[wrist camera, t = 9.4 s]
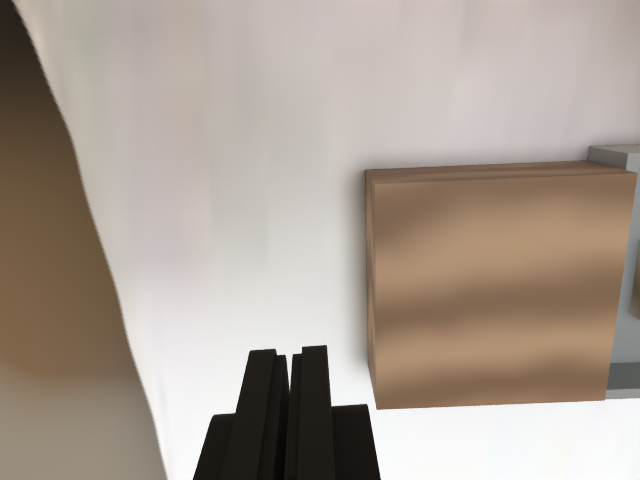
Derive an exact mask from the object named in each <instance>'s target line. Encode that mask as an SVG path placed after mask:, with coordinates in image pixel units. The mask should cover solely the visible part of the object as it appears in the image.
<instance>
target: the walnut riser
mask: <svg viewBox="0 0 640 480" xmlns="http://www.w3.org/2000/svg"><path fill="white" fill-rule="evenodd" d="M637 176H638V173H636V172H632V171H627V170H623V169H619V168H615V167H610V166H606V165H602V164H598V163H594V162H589V161H562V162H539V163H515V164H491V165H468V166H444V167H421V168H397V169H373V170H365V194H366V262H367V330H368V367H369V372H370V377H371V382H372V387H373V393H374V398H375V403H376V408H377V410H381V409H406V408H430V407H455V406H479V405H504V404H528V403H553V402H578V401H602V400H605V395H606V388H607V382H608V375H609V368H610V361H611V354H612V347H613V340H614V334H615V327H616V320H617V313H618V306H619V299H620V292H621V285H622V279H623V272H624V265H625V258H626V251H627V244H628V237H629V231H630V224H631V217H632V210H633V203H634V196H635V189H636V183H637Z"/></svg>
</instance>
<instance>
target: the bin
mask: <svg viewBox="0 0 640 480" xmlns="http://www.w3.org/2000/svg"><path fill="white" fill-rule="evenodd" d="M588 161H589V162H594V163H598V164H602V165H606V166H610V167H615V168H619V169H623V170H627V171H632V172H636V173H638V176H637V183H636V189H635V196H634V203H633V210H632V217H631V224H630V231H629V237H628V244H627V251H626V258H625V265H624V272H623V279H622V285H621V292H620V299H619V306H618V313H617V320H616V327H615V334H614V340H613V347H612V354H611V361H610V368H609V375H608V382H607V388H606V395H605V399H625V398H640V320H638V319H637V318H635V317H634V316H633V315H631V314H630V313H629V312H630V305H631V298H632V291H633V284H634V276H635V269H636V262H637V255H638V248H639V241H640V144H636V145H612V146H590V147H589V156H588Z"/></svg>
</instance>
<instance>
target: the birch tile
mask: <svg viewBox="0 0 640 480" xmlns="http://www.w3.org/2000/svg"><path fill="white" fill-rule="evenodd" d="M629 313H630V314H631V315H633V316H634V317H635V318H637V319H638V320H640V241H639V248H638V255H637V262H636V269H635V276H634V284H633V291H632V298H631V305H630V312H629Z"/></svg>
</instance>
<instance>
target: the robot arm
mask: <svg viewBox="0 0 640 480" xmlns="http://www.w3.org/2000/svg"><path fill="white" fill-rule="evenodd" d="M193 480H381V478H380V472H379V467H378V461H377V455H376V450H375V444H374V438H373V432H372V427H371V421H370V415H369V410H368V405H367V404H360V405H346V406H332V407H331V395H330V382H329V368H328V355H327V345H322V346H308V347H302V354H293V357H292V372H291V386H290V390H289V380H288V371H287V361H286V356H285V355H277V353H276V349H265V350H251V351H250V353H249V357H248V361H247V365H246V369H245V374H244V378H243V382H242V387H241V391H240V395H239V400H238V404H237V408H236V412H235V413H232V414H218V415H214V416H213V417H212V419H211V421H210V424H209V428H208V431H207V434H206V438H205V441H204V444H203V448H202V451H201V454H200V458H199V461H198V464H197V468H196V471H195V474H194V477H193Z"/></svg>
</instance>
